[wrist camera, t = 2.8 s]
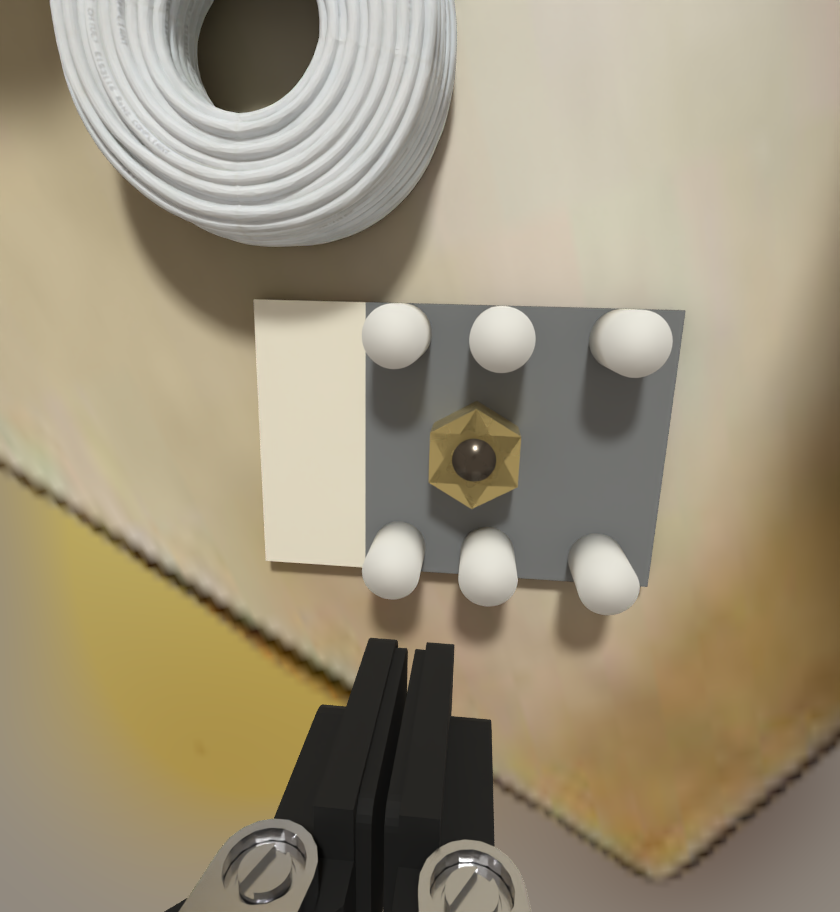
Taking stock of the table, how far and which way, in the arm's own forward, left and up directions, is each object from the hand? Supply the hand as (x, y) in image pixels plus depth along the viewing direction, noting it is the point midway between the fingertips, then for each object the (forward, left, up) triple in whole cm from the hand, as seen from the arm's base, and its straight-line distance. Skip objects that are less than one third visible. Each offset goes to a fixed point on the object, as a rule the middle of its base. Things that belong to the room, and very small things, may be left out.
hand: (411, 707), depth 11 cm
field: (0, 0, -22) cm, 22 cm away
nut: (-1, 0, -21) cm, 21 cm away
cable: (+9, -19, -23) cm, 31 cm away
